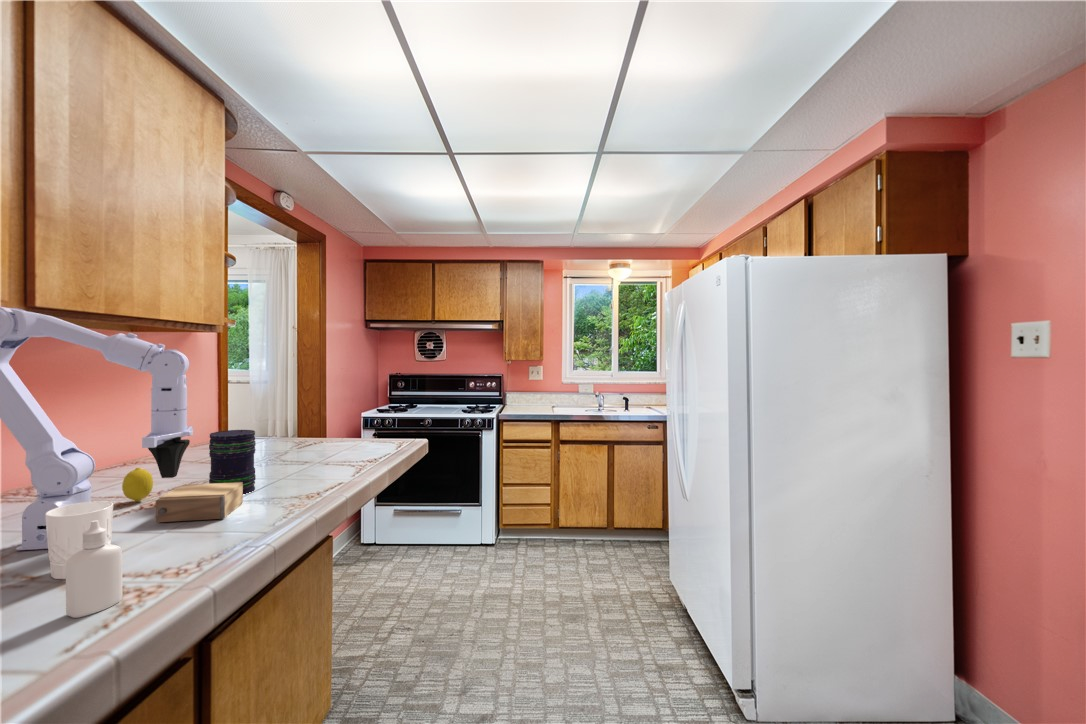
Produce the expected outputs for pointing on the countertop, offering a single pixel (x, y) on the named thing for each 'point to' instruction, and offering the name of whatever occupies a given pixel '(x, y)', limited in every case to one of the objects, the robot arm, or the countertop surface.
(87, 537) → the eye dropper bottle
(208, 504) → the door
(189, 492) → the cabinet
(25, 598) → the countertop surface
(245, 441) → the storage jar
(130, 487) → the lemon
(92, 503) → the white cup
